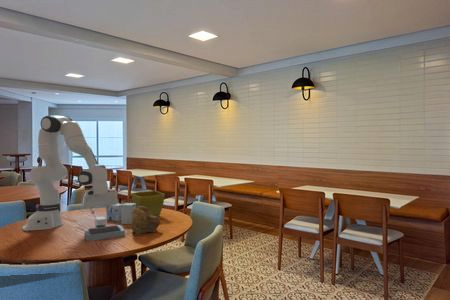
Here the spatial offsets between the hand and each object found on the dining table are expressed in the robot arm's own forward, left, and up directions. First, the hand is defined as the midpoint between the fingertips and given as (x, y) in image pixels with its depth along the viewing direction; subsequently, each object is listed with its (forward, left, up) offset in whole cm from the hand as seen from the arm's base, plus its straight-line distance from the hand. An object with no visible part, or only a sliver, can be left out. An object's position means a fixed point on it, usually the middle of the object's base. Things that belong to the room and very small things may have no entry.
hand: (101, 212), depth 201 cm
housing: (0, 0, -10) cm, 10 cm away
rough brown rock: (+23, -19, -11) cm, 31 cm away
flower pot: (+35, +18, -10) cm, 41 cm away
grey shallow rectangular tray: (0, -15, -10) cm, 18 cm away
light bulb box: (+13, +21, -11) cm, 27 cm away
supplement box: (+19, +7, -10) cm, 23 cm away
